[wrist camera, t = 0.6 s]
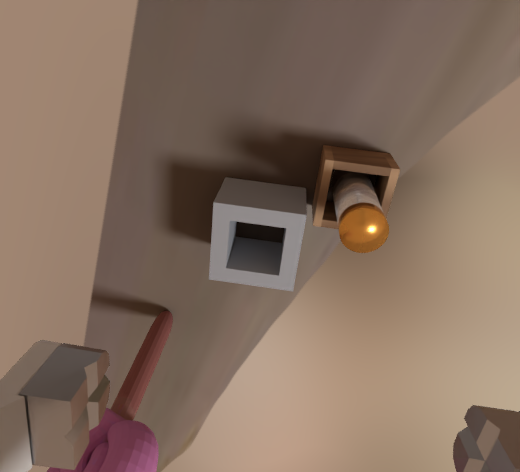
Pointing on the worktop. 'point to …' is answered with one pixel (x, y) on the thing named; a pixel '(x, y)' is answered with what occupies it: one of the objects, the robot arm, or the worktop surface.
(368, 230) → the pin
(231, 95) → the worktop surface
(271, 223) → the socket
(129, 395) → the lollipop
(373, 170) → the mount
